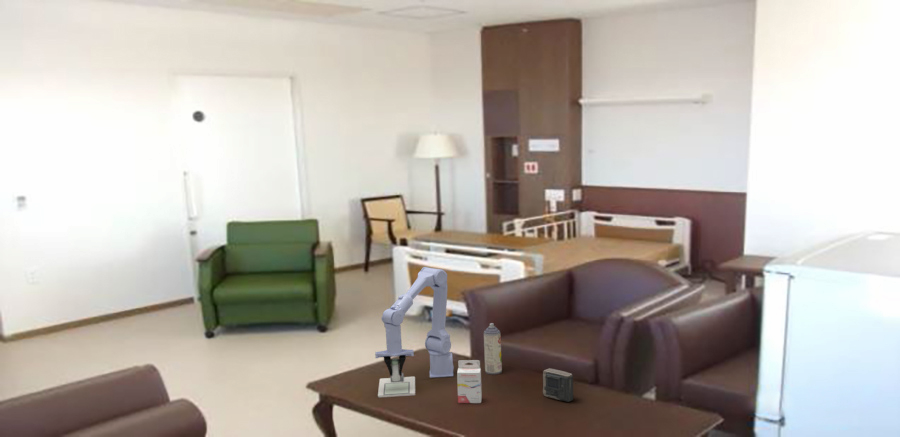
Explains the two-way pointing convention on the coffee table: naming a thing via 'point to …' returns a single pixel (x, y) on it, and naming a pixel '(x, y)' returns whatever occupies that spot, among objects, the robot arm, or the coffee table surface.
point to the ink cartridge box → (469, 382)
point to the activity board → (396, 387)
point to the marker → (395, 369)
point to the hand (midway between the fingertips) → (395, 374)
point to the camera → (558, 384)
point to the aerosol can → (492, 350)
